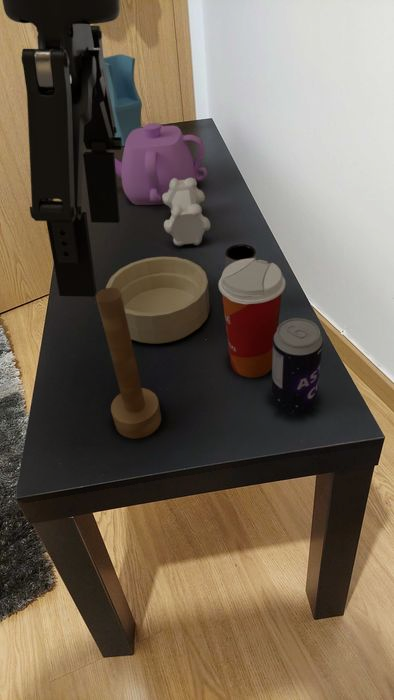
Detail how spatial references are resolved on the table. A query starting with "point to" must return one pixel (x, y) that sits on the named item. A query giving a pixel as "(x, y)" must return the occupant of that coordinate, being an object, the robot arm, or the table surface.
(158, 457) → the table surface
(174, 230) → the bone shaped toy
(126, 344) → the brown tall rod post
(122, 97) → the vase
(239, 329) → the coffee cup
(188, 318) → the bowl
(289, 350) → the beverage can
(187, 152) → the teapot
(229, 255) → the dark grey hollow cylinder
